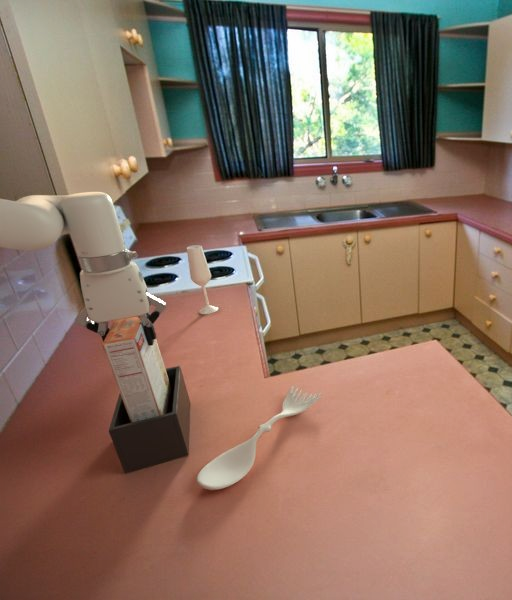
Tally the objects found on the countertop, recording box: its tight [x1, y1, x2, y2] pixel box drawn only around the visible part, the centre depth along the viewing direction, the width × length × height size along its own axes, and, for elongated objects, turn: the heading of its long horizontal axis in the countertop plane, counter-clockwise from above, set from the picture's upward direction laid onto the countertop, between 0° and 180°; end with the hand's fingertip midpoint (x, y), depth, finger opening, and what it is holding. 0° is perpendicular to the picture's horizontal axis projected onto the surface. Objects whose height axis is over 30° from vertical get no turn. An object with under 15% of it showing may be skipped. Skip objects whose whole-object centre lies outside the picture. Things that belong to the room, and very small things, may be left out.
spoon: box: [196, 384, 323, 491], centre depth 91 cm, size 9×32×4 cm, turn 155°
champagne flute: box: [186, 244, 219, 315], centre depth 151 cm, size 7×7×24 cm
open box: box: [108, 365, 191, 474], centre depth 92 cm, size 12×20×11 cm, turn 24°
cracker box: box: [101, 317, 171, 423], centre depth 88 cm, size 14×6×21 cm, turn 21°
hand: (132, 345), depth 86 cm, fingers closed on cracker box, 6 cm apart
